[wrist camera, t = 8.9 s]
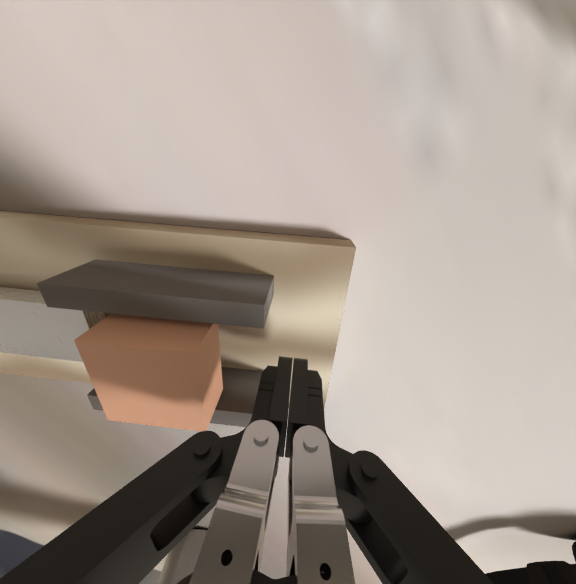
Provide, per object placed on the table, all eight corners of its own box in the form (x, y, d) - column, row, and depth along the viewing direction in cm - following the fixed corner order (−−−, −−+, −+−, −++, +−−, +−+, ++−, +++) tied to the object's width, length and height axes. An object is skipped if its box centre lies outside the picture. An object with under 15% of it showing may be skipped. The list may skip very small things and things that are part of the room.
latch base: (322, 392, 19) (326, 456, 14) (-118, 344, 20) (-231, 389, 16) (351, 240, 13) (371, 271, 9) (-256, 189, 15) (-483, 195, 10)
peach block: (223, 388, 14) (206, 431, 12) (140, 379, 14) (107, 420, 12) (217, 317, 12) (194, 352, 9) (119, 307, 12) (74, 339, 10)
